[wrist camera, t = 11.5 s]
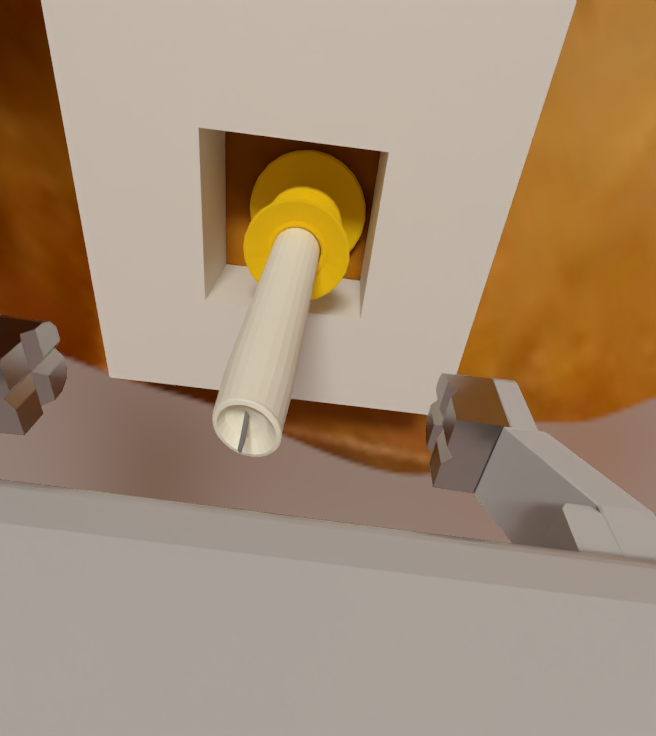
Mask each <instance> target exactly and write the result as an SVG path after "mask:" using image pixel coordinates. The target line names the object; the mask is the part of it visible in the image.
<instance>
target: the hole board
mask: <svg viewBox="0 0 656 736" xmlns="http://www.w3.org/2000/svg"><path fill="white" fill-rule="evenodd" d="M576 2H577V1H576V0H41V4H42V9H43V15H44V20H45V26H46V31H47V37H48V42H49V47H50V53H51V58H52V64H53V69H54V75H55V80H56V86H57V91H58V97H59V102H60V108H61V113H62V119H63V124H64V130H65V135H66V141H67V146H68V152H69V157H70V163H71V168H72V173H73V179H74V184H75V190H76V195H77V201H78V206H79V212H80V217H81V223H82V228H83V234H84V239H85V245H86V250H87V256H88V261H89V267H90V272H91V278H92V283H93V289H94V294H95V299H96V305H97V310H98V316H99V321H100V327H101V332H102V338H103V343H104V349H105V354H106V360H107V365H108V371H109V376H110V377H112V378H120V379H129V380H137V381H146V382H154V383H163V384H171V385H180V386H188V387H197V388H205V389H213V390H220V386H221V383H222V380H223V377H224V373H225V370H226V367H227V363H228V361H229V358H230V356H231V353H232V350H233V348H234V345H235V343H236V340H237V337H238V335H239V332H240V330H241V327H242V325H243V322H244V319H245V317H246V314H247V312H248V309H249V306H250V304H251V301H252V299H253V296H254V294H255V291H256V288H257V286H258V283H257V282H256V280H255V279H254V278H253V276H252V275H251V273H250V272H249V269H248V267H246V266H238V265H230V264H226V166H225V131H229V132H237V133H244V134H252V135H260V136H268V137H275V138H283V139H291V140H298V141H306V142H314V143H321V144H329V145H337V146H344V147H352V148H360V149H367V150H375V151H381V152H380V158H379V164H378V171H377V177H376V183H375V189H374V196H373V202H372V208H371V214H370V220H369V227H368V233H367V239H366V245H365V251H364V258H363V264H362V270H361V276H360V281H359V280H351V279H343V278H342V280H341V281H340V283H339V284H338V285H337V286H336V287H335V288H334V289H333V290H332V291H331V292H329V293H327V294H326V295H324V296H322V297H320V298H318V299H314V300H310V305H309V311H308V316H307V321H306V326H305V331H304V336H303V341H302V346H301V352H300V357H299V362H298V367H297V372H296V377H295V382H294V388H293V393H292V397H291V399H298V400H307V401H315V402H323V403H332V404H340V405H349V406H357V407H366V408H374V409H383V410H391V411H400V412H408V413H417V414H425V415H428V413H429V409H430V405H431V404H433V403H434V402H435V401H437V400H438V399H437V393H436V386H437V383H438V380H439V378H440V376H441V374H442V373H445V374H455V375H456V373H457V370H458V367H459V364H460V361H461V358H462V355H463V352H464V349H465V345H466V342H467V339H468V336H469V333H470V330H471V327H472V324H473V321H474V318H475V314H476V311H477V308H478V305H479V302H480V299H481V296H482V293H483V290H484V287H485V284H486V280H487V277H488V274H489V271H490V268H491V265H492V262H493V259H494V256H495V253H496V250H497V246H498V243H499V240H500V237H501V234H502V231H503V228H504V225H505V222H506V219H507V215H508V212H509V209H510V206H511V203H512V200H513V197H514V194H515V191H516V188H517V185H518V181H519V178H520V175H521V172H522V169H523V166H524V163H525V160H526V157H527V154H528V151H529V147H530V144H531V141H532V138H533V135H534V132H535V129H536V126H537V123H538V120H539V116H540V113H541V110H542V107H543V104H544V101H545V98H546V95H547V92H548V89H549V86H550V82H551V79H552V76H553V73H554V70H555V67H556V64H557V61H558V58H559V55H560V52H561V48H562V45H563V42H564V39H565V36H566V33H567V30H568V27H569V24H570V21H571V18H572V14H573V11H574V8H575V5H576Z"/></svg>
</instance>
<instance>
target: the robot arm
mask: <svg viewBox="0 0 656 736" xmlns="http://www.w3.org/2000/svg"><path fill="white" fill-rule="evenodd" d="M59 341H60V338H59V335H58V331H57V328H56V326H55V325H53V324H52V323H51V322H49V321H42V320H35V319H29V318H22V317H15V316H9V315H0V433H6V434H17V435H25V434H26V433H27V432H28V431H29V430H30V428H31V427H32V426H33V425H34V424H35V423H36V421H37V420H38V419H39V418H40V417H41V416H42V415H43V410H42V406H43V405H45V404H47V403H49V402H52V401H54V400H55V399H56V398H57V397H58V396H59V394H60V393H61V392H62V390H63V387H64V385H65V382H66V379H67V366H66V362H65V358H64V357H63V356H62V355H61V354H60V353H59V352H58V351H57V350H56V349H55V347H56V346H57V344H58V343H59ZM436 393H437V399H438V400H437V401H435V402H434V403H433V404H431V405H430V409H429V413H428V417H427V423H426V444H427V448H428V449H429V450H430V451H431V452H432V456H431V459H430V462H429V465H430V471H431V477H432V483H433V487H435V488H441V489H448V490H454V491H462V492H468V493H474V496H475V497H476V499H477V500H478V501H479V502H480V504H481V505H482V506H483V507H484V509H485V510H486V511H487V512H488V514H489V515H490V516H491V517H492V519H493V520H494V521H495V522H496V524H497V525H498V526H499V527H500V529H501V530H502V531H503V532H504V534H505V535H506V536H507V537H508V539H509V540H510V541H511V542H512V543H505V542H497V541H489V540H481V539H473V538H465V537H456V536H448V535H440V534H431V533H423V532H415V531H407V530H400V529H392V528H384V527H376V526H367V525H360V524H352V523H344V522H336V521H329V520H320V519H313V518H305V517H297V516H289V515H281V514H273V513H266V512H258V511H250V510H242V509H234V508H226V507H218V506H210V505H202V504H194V503H185V502H178V501H170V500H162V499H154V498H146V497H138V496H130V495H121V494H114V493H106V492H97V491H89V490H82V489H73V488H66V487H58V486H49V485H41V484H34V483H26V482H18V481H10V480H2V479H0V736H656V517H655V516H654V514H653V513H652V512H651V511H649V510H648V509H647V508H646V507H644V506H643V505H642V504H641V503H639V502H638V501H637V500H635V499H634V498H633V497H631V496H630V495H629V494H627V493H626V492H624V491H623V490H622V489H621V488H619V487H618V486H617V485H615V484H614V483H613V482H611V481H610V480H608V479H607V478H606V477H605V476H603V475H602V474H601V473H599V472H598V471H597V470H595V469H594V468H593V467H591V466H590V465H589V464H588V463H586V462H585V461H583V460H582V459H581V458H580V457H578V456H577V455H575V454H574V453H573V452H572V451H570V450H569V449H568V448H566V447H565V446H564V445H562V444H561V443H560V442H558V441H557V440H556V439H554V438H553V437H552V436H550V435H549V434H548V433H546V432H541V431H538V429H537V427H536V424H535V422H534V420H533V418H532V415H531V413H530V411H529V409H528V407H527V404H526V402H525V400H524V398H523V396H522V393H521V391H520V389H519V387H518V384H517V383H516V382H515V381H513V380H506V379H495V378H482V377H473V376H464V375H455V374H445V373H442V374H441V376H440V378H439V380H438V383H437V386H436Z"/></svg>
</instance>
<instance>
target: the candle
mask: <svg viewBox="0 0 656 736" xmlns="http://www.w3.org/2000/svg"><path fill="white" fill-rule="evenodd" d="M365 207H366V205H365V200H364V196H363V191H362V188H361V186H360V184H359V182H358V180H357V178H356V177H355V175H354V173H353V172H352V171H351V170H350V169H349V168H348V167H347V166H346V165H345V164H344V163H343V162H342V161H340V160H338V159H337V158H335V157H333V156H332V155H330V154H327V153H324V152H320V151H316V150H296V151H292V152H289V153H286V154H283V155H281V156H280V157H278V158H277V159H275V160H274V161H272V162H271V163H269V164H268V166H267V167H266V168H265V169H264V170H263V172H262V173H261V174H260V175H259V177H258V179H257V181H256V183H255V185H254V188H253V190H252V194H251V200H250V215H251V222H250V224H249V227H248V229H247V231H246V233H245V239H244V245H243V249H244V257H245V262H246V264H247V267H248V269H249V272H250V273H251V275H252V276H253V278H254V279H255V280H256V282H257V283H258V286H257V288H256V291H255V294H254V296H253V299H252V301H251V304H250V306H249V309H248V312H247V314H246V317H245V319H244V322H243V325H242V327H241V330H240V332H239V335H238V337H237V340H236V343H235V345H234V348H233V350H232V353H231V356H230V358H229V361H228V363H227V367H226V370H225V373H224V377H223V380H222V383H221V386H220V390H219V393H218V396H217V400H216V403H215V406H214V409H213V416H212V422H213V427H214V429H215V431H216V433H217V435H218V437H219V438H220V439H221V440H222V442H223V443H224V444H226V445H227V446H228V447H229V448H230V449H232V450H234V451H235V452H237V453H240V454H243V455H245V456H252V457H260V456H266V455H268V454H271V453H272V452H274V451H275V450H276V449H277V448H278V446H279V445H280V443H281V440H282V431H283V427H284V423H285V419H286V416H287V412H288V408H289V404H290V400H291V397H292V393H293V388H294V382H295V377H296V372H297V367H298V362H299V357H300V352H301V346H302V341H303V336H304V331H305V326H306V321H307V316H308V311H309V305H310V300H314V299H318V298H320V297H322V296H324V295H326V294H327V293H329V292H331V291H332V290H333V289H334V288H335V287H336V286H337V285H338V284H339V283H340V281H341V280H342V278H343V276H344V275H345V273H346V270H347V266H348V263H349V252H350V251H351V250H352V249H353V248H354V246H355V245H356V243H357V241H358V240H359V238H360V236H361V234H362V230H363V227H364V223H365Z"/></svg>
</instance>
